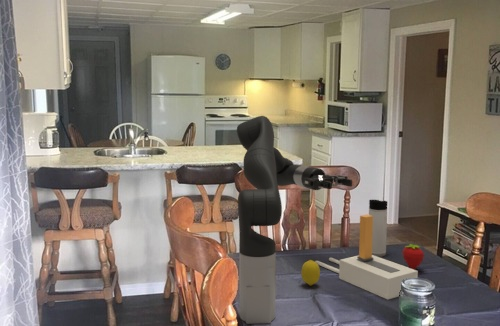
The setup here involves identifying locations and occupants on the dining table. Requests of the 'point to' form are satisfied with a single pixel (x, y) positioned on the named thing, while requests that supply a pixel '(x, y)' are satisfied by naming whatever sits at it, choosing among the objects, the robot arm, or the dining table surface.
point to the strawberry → (413, 256)
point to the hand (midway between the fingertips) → (341, 184)
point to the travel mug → (378, 226)
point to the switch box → (375, 275)
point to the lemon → (310, 272)
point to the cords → (328, 265)
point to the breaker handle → (365, 238)
